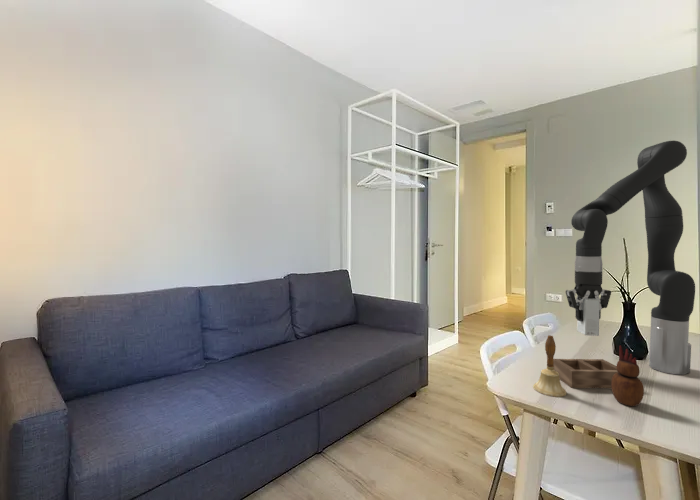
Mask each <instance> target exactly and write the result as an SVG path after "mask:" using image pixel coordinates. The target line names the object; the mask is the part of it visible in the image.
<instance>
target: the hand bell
mask: <svg viewBox="0 0 700 500" xmlns="http://www.w3.org/2000/svg"><path fill="white" fill-rule="evenodd" d="M544 347H545V348H544V350H545V354H546V368H544V369H541V371H540V376H539V379H538V381H537V382H535V383H534V384H533V386H532V387H533V389H534V391H535V392H538V393H540V394H542V395H544V396H548V397H555V398H562V397H565V396H566V395H567V394H568V393H567V390H566V389H565V388H564V387H563V385H562V384H561V380H560V379H559V373H558V372H556V371H555V370H554V365H553V359H554V357H555V354H556V350H557V349H556V348H557V346H556V342H555V339H554V336H553V335H547V338H546V341H545V343H544Z"/></svg>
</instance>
